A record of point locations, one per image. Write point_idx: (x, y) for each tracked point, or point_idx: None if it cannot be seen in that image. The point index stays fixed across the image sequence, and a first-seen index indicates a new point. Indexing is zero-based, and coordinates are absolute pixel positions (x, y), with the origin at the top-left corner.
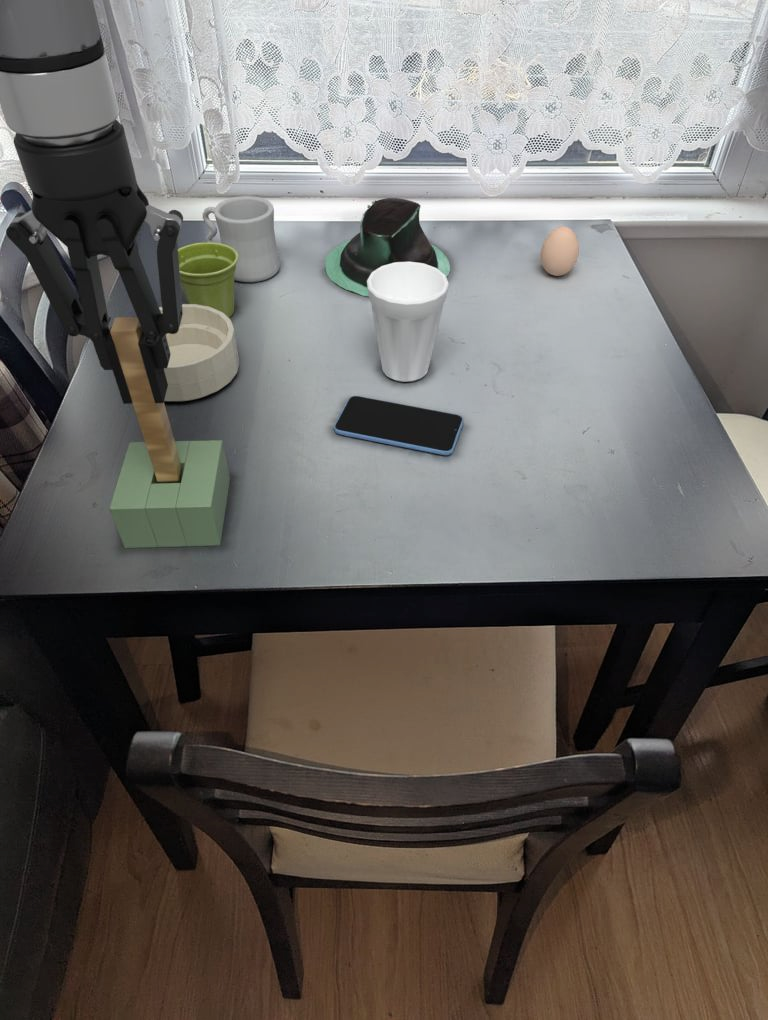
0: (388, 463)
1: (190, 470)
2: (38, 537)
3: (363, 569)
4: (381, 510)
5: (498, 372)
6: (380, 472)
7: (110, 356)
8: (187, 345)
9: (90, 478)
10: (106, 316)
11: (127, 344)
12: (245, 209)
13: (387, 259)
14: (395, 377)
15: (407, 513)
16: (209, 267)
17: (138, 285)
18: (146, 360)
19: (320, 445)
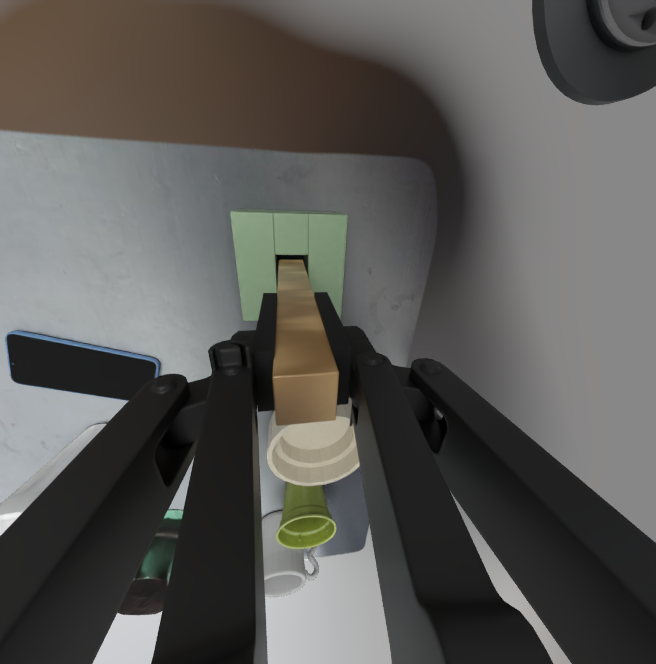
0: (85, 320)
1: (267, 274)
2: (414, 232)
3: (58, 156)
4: (69, 252)
5: (5, 441)
6: (90, 308)
7: (340, 332)
8: (317, 447)
9: (377, 303)
10: (354, 418)
11: (301, 352)
12: (283, 581)
13: (149, 550)
14: None
15: (34, 246)
16: (306, 522)
17: (182, 531)
18: (267, 329)
19: (169, 344)
